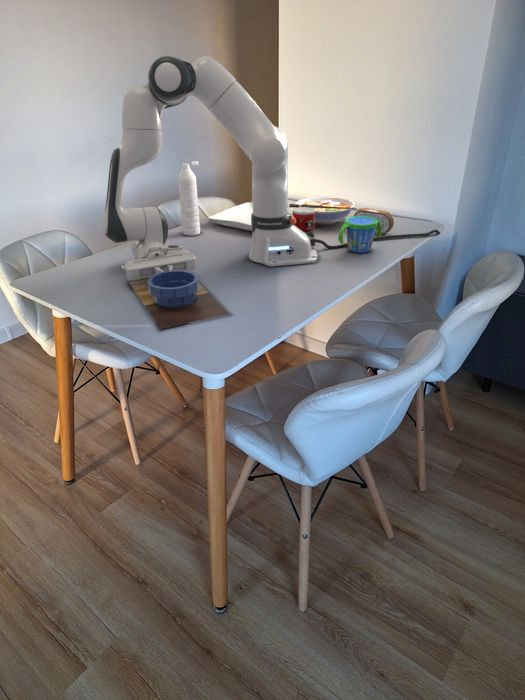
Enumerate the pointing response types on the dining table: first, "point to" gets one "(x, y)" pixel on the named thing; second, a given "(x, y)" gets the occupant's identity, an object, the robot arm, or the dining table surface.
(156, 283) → the bowl
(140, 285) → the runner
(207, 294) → the mat
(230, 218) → the square plate
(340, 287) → the dining table surface
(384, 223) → the tin
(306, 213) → the canned food
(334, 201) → the ramen bowl
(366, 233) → the snack cup
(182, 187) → the water bottle
